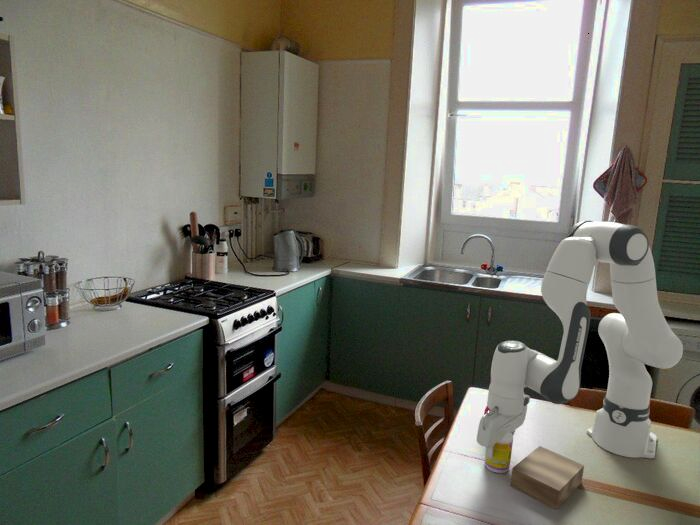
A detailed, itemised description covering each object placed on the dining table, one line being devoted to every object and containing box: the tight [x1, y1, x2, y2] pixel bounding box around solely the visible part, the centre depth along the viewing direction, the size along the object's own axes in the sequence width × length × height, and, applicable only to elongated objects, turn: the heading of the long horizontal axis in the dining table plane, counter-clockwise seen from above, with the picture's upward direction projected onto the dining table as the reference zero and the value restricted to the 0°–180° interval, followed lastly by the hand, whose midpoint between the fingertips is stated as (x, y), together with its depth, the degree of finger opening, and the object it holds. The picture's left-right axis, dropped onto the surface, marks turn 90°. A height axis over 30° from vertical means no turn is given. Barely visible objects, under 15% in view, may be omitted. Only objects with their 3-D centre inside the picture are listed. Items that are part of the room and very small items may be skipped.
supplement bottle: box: [483, 425, 514, 474], centre depth 136 cm, size 7×7×13 cm
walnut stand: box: [509, 445, 585, 510], centre depth 130 cm, size 16×12×5 cm
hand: (498, 449), depth 136 cm, fingers open, 8 cm apart
